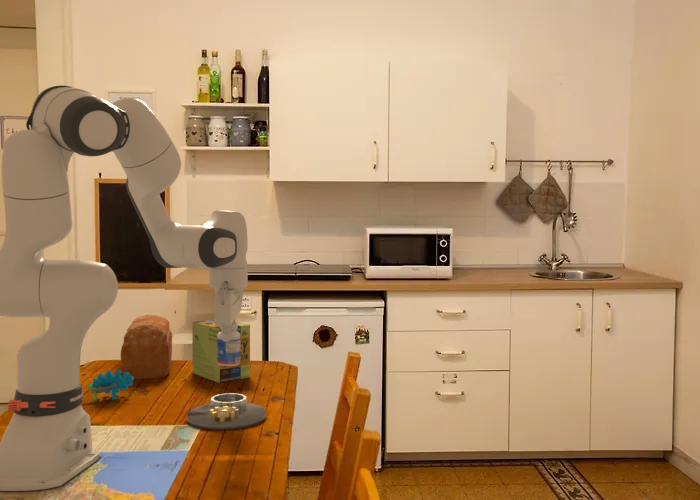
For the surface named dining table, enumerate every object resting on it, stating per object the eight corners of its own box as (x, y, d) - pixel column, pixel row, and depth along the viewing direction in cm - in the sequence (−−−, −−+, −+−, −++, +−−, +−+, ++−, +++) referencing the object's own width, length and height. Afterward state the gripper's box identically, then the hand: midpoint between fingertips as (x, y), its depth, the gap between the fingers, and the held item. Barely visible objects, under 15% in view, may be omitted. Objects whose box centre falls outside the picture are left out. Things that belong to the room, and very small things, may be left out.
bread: (119, 381, 193) (118, 325, 192) (128, 361, 218) (127, 312, 217) (169, 378, 196) (169, 324, 195) (172, 359, 221) (172, 311, 220)
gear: (137, 383, 179) (128, 364, 172) (138, 403, 176) (130, 384, 168) (93, 393, 177) (82, 374, 170) (94, 413, 174) (83, 395, 166)
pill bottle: (214, 362, 163) (214, 321, 162) (236, 360, 165) (236, 320, 165) (220, 367, 158) (220, 325, 157) (243, 365, 160) (243, 324, 160)
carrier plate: (262, 429, 150) (262, 413, 150) (179, 430, 149) (179, 413, 149) (268, 406, 168) (268, 391, 168) (194, 406, 167) (194, 392, 167)
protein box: (219, 383, 190) (219, 328, 189) (191, 373, 201) (191, 321, 200) (251, 377, 197) (251, 324, 196) (222, 368, 208) (222, 318, 208)
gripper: (236, 284, 150) (236, 347, 151) (246, 275, 170) (246, 330, 171) (207, 284, 150) (208, 347, 151) (221, 275, 170) (221, 330, 171)
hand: (228, 338), depth 161 cm, fingers closed on pill bottle, 5 cm apart
